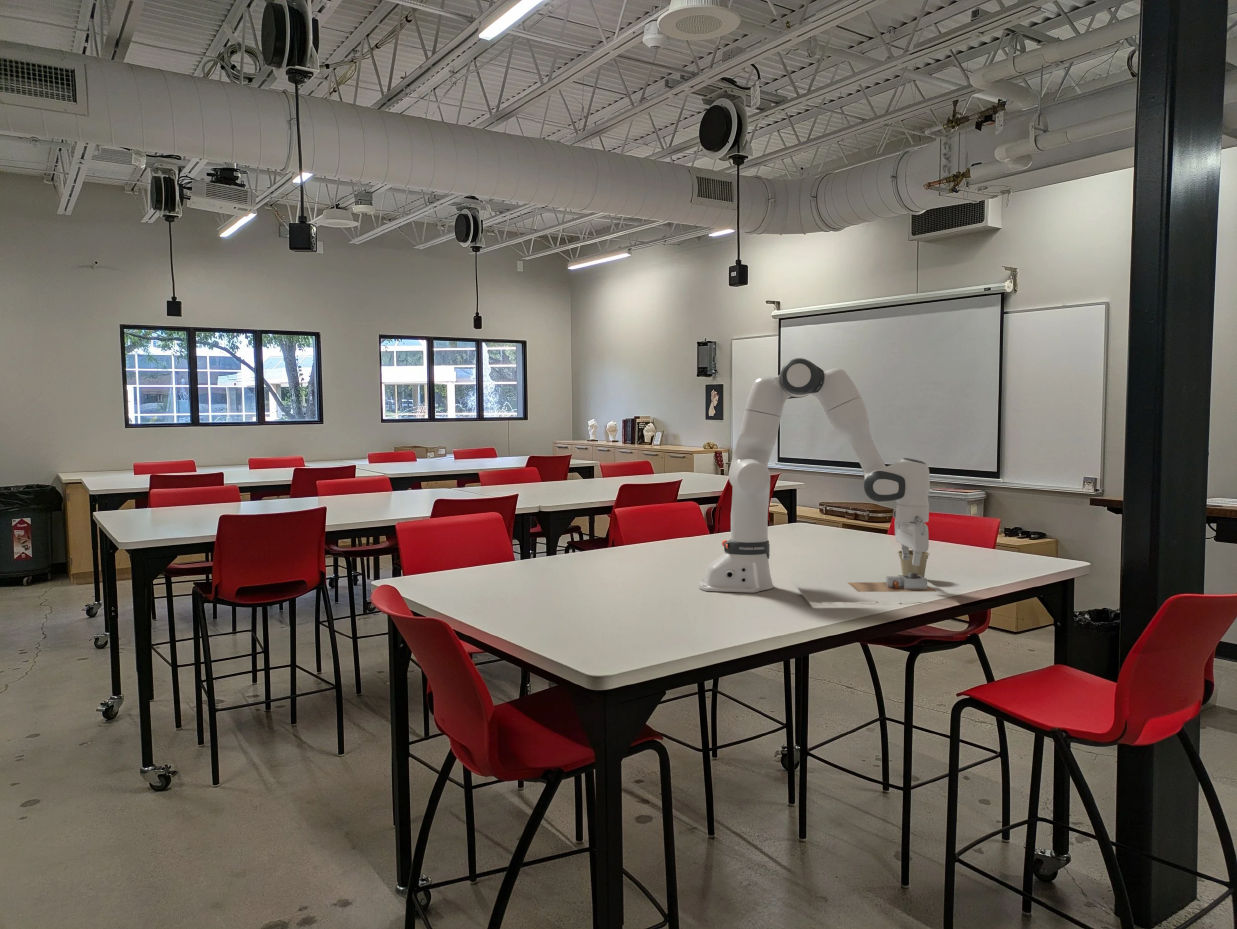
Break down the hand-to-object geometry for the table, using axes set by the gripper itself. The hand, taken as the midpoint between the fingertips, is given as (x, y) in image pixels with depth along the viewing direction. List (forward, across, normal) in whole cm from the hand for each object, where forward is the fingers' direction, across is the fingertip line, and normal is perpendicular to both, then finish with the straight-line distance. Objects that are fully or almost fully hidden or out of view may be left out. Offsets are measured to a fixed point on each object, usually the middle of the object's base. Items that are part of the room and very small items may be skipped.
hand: (910, 562), depth 234 cm
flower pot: (+9, +19, -7) cm, 22 cm away
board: (+9, +1, +5) cm, 10 cm away
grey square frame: (+7, 0, +1) cm, 7 cm away
